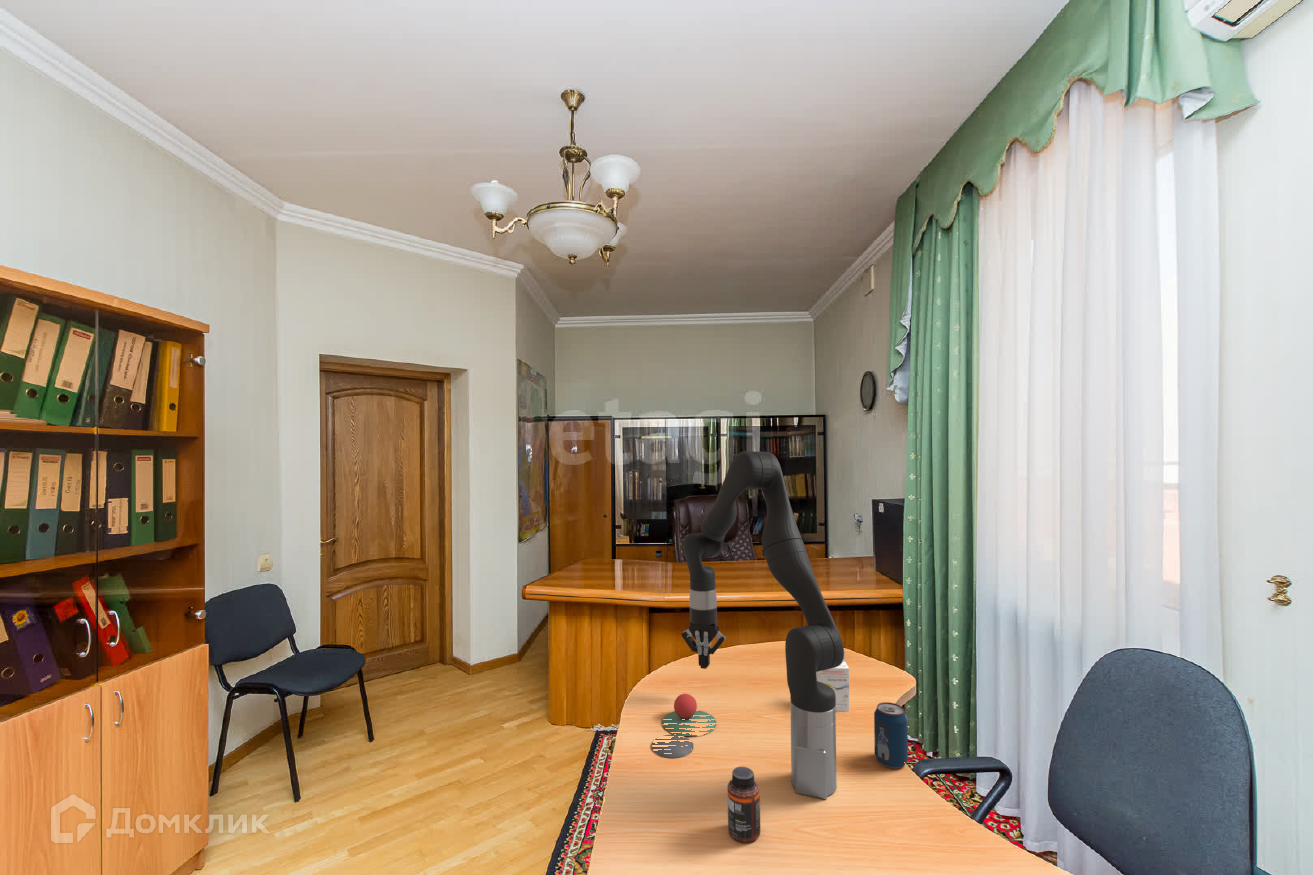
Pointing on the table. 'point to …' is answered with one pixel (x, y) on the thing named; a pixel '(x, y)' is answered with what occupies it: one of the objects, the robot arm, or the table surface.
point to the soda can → (890, 735)
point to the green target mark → (679, 720)
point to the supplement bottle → (743, 805)
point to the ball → (685, 706)
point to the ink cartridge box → (837, 683)
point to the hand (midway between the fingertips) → (704, 667)
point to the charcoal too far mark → (674, 747)
